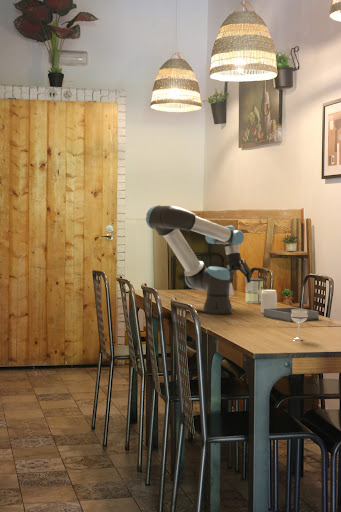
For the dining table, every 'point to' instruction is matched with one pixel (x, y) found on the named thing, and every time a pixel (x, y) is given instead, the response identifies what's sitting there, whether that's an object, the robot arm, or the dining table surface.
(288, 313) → the bin
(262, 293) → the beverage can
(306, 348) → the dining table surface
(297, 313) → the wineglass
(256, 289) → the coffee can
